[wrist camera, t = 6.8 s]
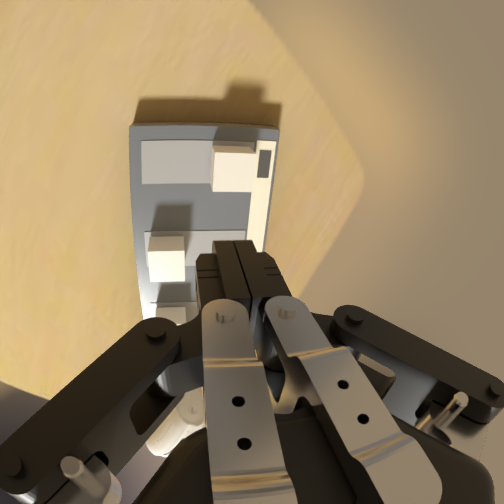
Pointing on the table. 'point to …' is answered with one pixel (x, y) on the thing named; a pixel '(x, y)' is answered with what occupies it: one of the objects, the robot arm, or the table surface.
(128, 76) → the table surface
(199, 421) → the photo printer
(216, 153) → the tab
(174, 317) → the tab
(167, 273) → the middle tab
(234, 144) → the switch board
